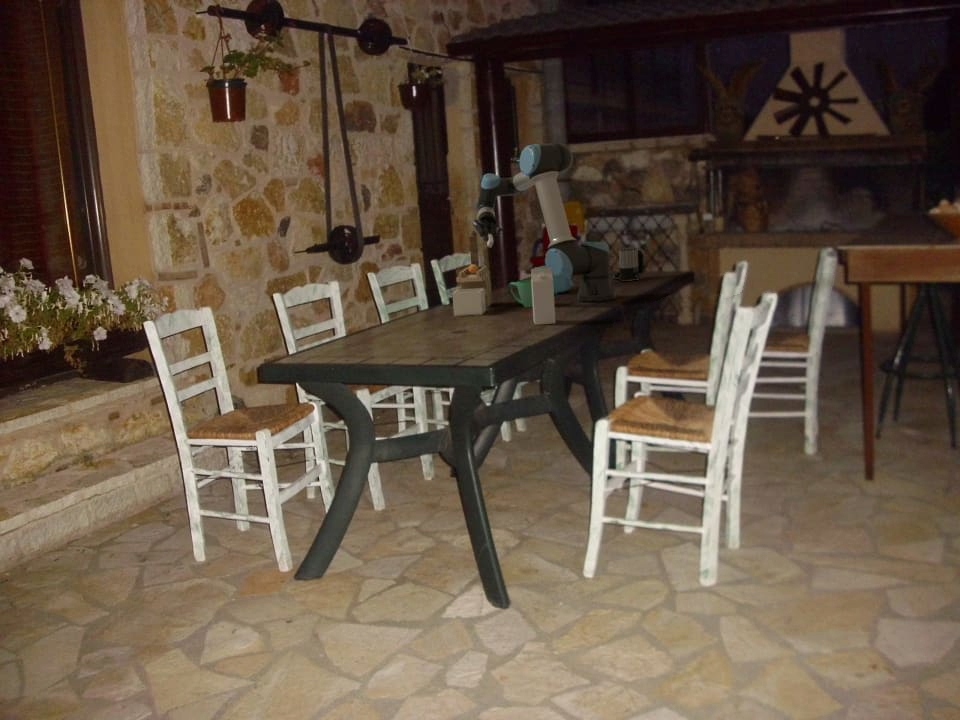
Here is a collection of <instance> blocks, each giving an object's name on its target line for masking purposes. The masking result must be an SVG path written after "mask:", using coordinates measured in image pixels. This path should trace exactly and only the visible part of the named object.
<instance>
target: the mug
mask: <svg viewBox="0 0 960 720" xmlns="http://www.w3.org/2000/svg"><path fill="white" fill-rule="evenodd" d="M507 286H508V287H507V288H508V293H509V295H510V296H511V298H513V300H515V302H517V303H519V304H521V305H522V306H523V307H524V308H533V303H532V286H531V279H523V280H522V279H521V280H518V281H516V282H515V281H511V282H510V283H509V284H508V285H507ZM513 286H515V287H517V291H518V296H519V297H518V296H517V294H516V293H515V292H514V290H513V289H514V288H513Z"/></svg>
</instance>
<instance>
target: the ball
mask: <svg viewBox="0 0 960 720" xmlns="http://www.w3.org/2000/svg"><path fill="white" fill-rule="evenodd" d="M468 267H469V268H468V270H469V272H470V273H471V274H476V272H477V271H478V266H477V265H475V264H472V265H471V264H470V265H469V266H468Z"/></svg>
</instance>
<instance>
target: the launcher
mask: <svg viewBox="0 0 960 720" xmlns="http://www.w3.org/2000/svg"><path fill="white" fill-rule="evenodd" d="M487 267H488V266H486V265H484V266H482V268H481V269H480V270H478V271H477V272H476V274H471V273H468V268H469V266H468V267H465V268H463V270H461V271H460V272H458V276H457V277H456V281H455V282H456V283H460V286H461V288H460V289H474V288H484V290H485V304H486V309H488V308H489V307H490V306H491V305H492V304H493V303H492V302H493V301H492V291H491V289H492V288H491V275H490V270H488V268H487Z"/></svg>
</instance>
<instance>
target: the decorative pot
mask: <svg viewBox="0 0 960 720" xmlns="http://www.w3.org/2000/svg"><path fill="white" fill-rule="evenodd" d="M544 268H547V267H546V265H541V266H538V267H534V268H533V269H544ZM552 276H553V275H552ZM571 279H572V277H568V278H556V277H554V276H553V288H554V294H555V295H559V294H558V293H565V292H567V291H568V290H569V289H570V288H572V287H573V286H574V283H573V281H572V280H571ZM564 291H565V292H564Z"/></svg>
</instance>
